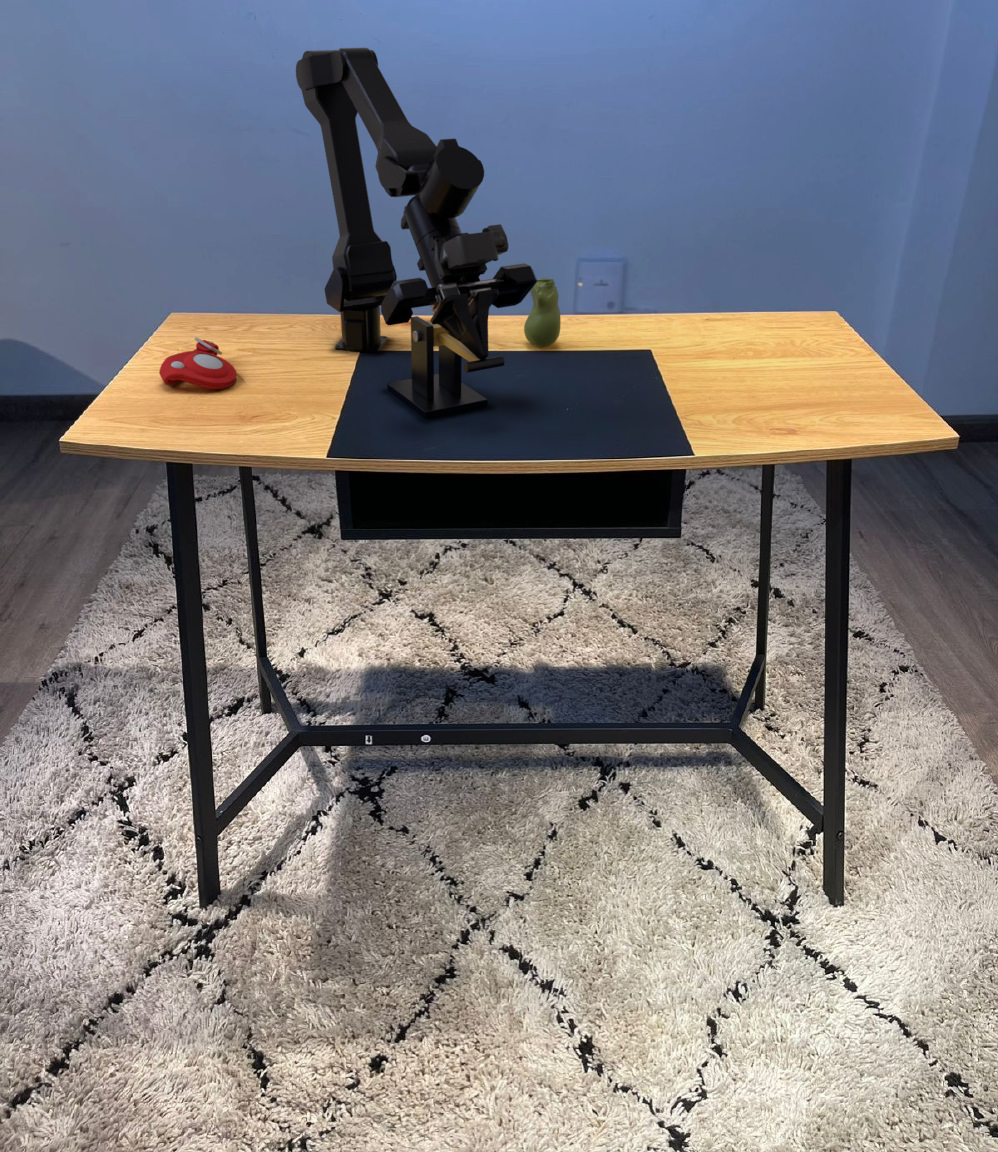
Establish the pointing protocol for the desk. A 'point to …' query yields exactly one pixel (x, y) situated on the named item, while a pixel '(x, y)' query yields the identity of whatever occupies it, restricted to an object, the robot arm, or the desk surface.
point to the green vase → (543, 314)
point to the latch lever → (464, 351)
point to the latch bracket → (434, 378)
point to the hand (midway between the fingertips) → (484, 357)
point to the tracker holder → (199, 367)
